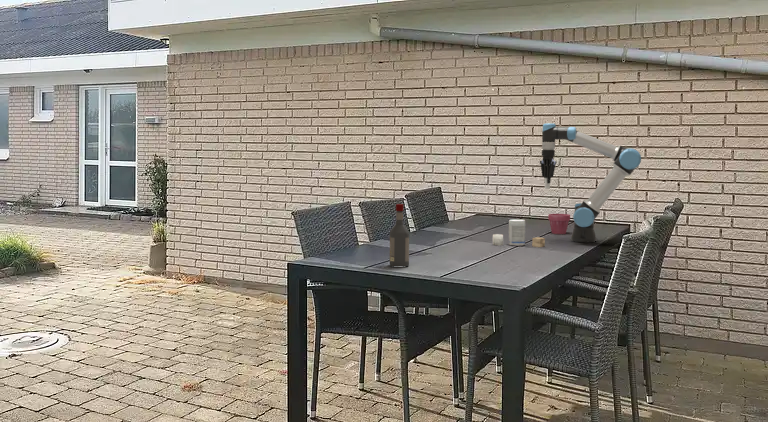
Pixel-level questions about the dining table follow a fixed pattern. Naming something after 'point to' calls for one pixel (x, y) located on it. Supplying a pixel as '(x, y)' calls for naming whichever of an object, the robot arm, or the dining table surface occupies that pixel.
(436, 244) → the dining table surface
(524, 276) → the dining table surface
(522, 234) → the supplement tub
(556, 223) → the plant pot
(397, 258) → the liquor
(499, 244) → the white cube
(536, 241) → the oak block
